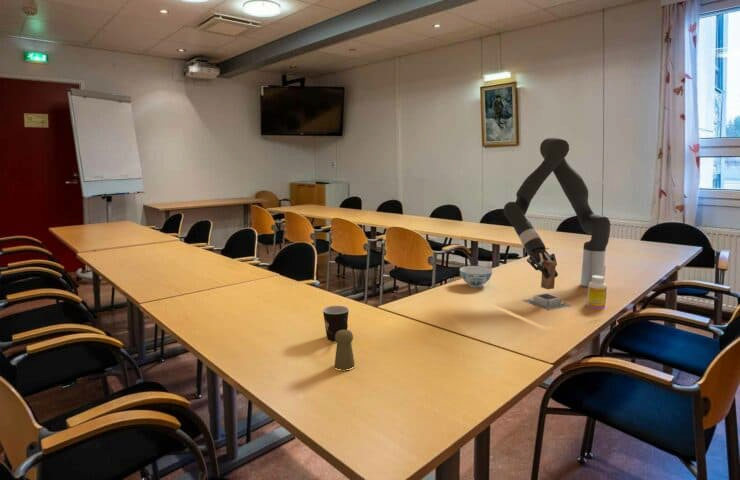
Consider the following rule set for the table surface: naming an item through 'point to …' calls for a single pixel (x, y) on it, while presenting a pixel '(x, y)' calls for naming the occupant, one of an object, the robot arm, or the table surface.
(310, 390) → the table surface
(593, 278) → the supplement bottle
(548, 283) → the brown wooden block
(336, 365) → the cork
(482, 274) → the chinaware
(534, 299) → the open square frame
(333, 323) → the coffee mug
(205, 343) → the table surface
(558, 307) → the coaster
